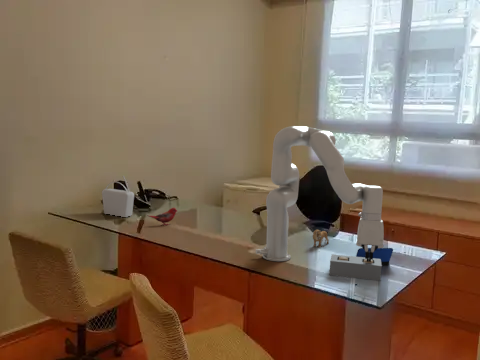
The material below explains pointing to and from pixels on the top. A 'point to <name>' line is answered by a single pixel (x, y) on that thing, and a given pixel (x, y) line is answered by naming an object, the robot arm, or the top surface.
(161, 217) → the decorative bird figurine
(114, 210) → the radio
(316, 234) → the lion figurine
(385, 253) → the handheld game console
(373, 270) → the block
